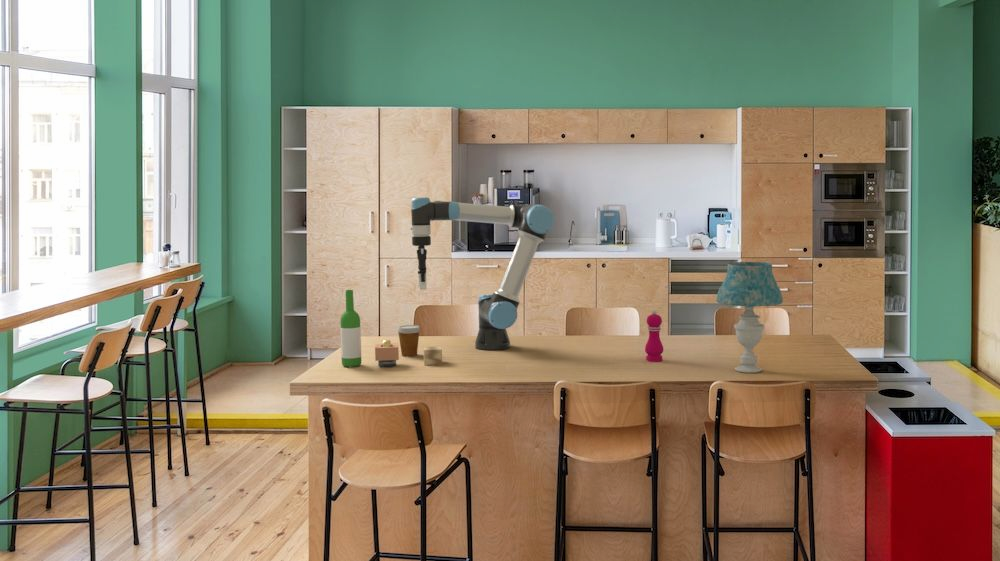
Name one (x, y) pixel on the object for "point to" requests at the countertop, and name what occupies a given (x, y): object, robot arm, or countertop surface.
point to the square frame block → (386, 352)
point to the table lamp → (749, 304)
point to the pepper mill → (654, 338)
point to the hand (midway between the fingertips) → (422, 287)
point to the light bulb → (387, 362)
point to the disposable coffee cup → (409, 339)
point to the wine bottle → (350, 334)
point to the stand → (432, 355)
